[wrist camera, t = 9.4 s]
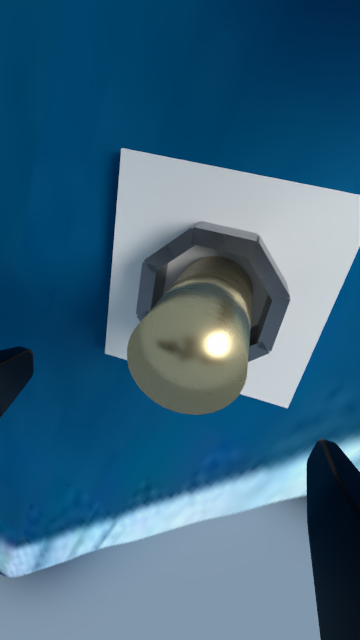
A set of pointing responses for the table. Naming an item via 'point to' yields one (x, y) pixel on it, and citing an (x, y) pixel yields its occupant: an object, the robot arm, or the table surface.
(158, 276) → the socket collar
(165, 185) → the socket base
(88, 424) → the table surface
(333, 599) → the robot arm
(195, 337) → the brass cylinder
